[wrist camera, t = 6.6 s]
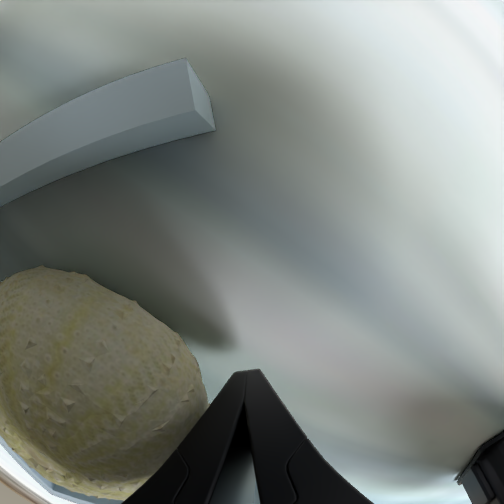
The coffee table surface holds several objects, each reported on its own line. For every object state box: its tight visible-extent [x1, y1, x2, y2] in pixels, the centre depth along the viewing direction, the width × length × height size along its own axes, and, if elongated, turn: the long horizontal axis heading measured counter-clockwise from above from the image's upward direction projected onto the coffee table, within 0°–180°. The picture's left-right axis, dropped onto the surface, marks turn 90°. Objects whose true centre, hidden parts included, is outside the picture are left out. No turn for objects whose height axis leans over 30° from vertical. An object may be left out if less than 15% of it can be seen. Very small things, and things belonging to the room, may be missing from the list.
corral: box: [0, 58, 260, 504], centre depth 8 cm, size 14×16×3 cm
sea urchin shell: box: [0, 265, 210, 501], centre depth 8 cm, size 9×8×8 cm
